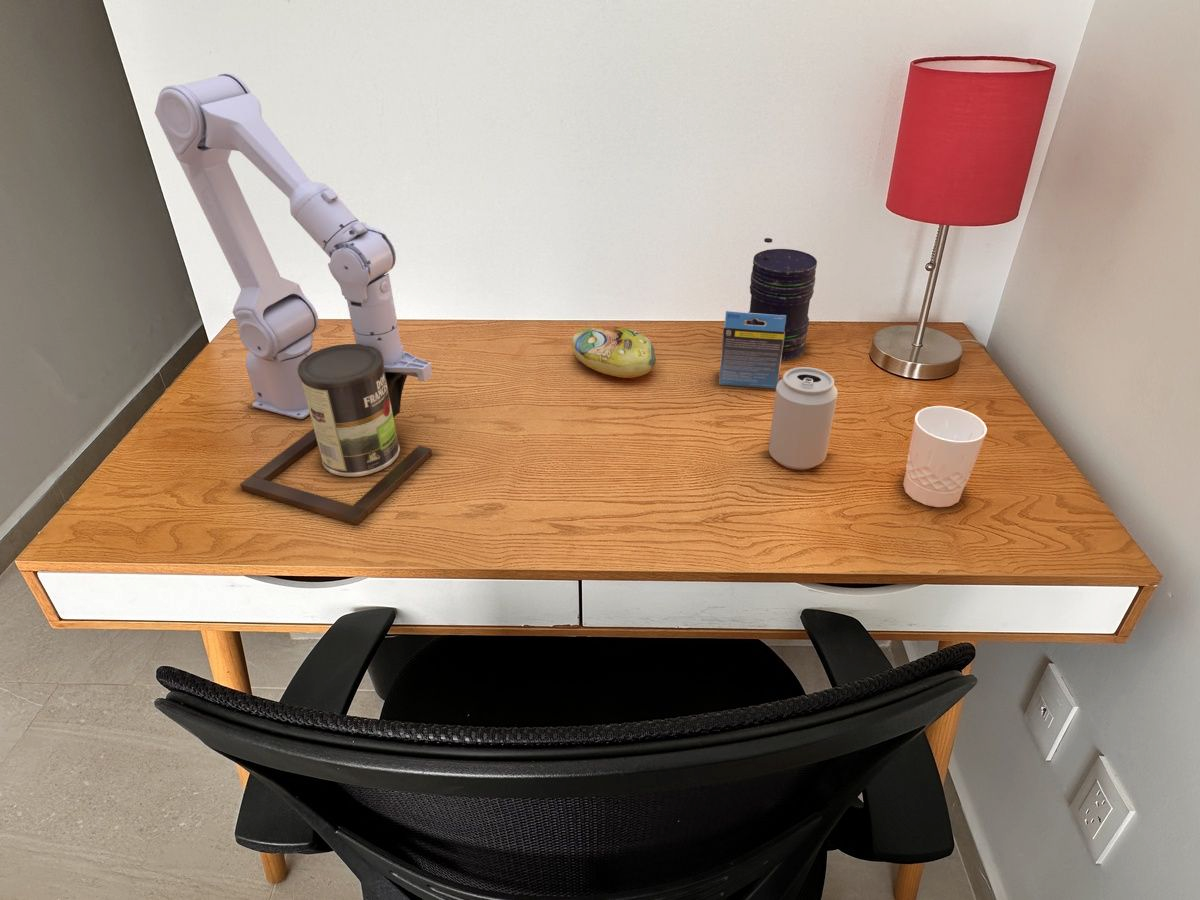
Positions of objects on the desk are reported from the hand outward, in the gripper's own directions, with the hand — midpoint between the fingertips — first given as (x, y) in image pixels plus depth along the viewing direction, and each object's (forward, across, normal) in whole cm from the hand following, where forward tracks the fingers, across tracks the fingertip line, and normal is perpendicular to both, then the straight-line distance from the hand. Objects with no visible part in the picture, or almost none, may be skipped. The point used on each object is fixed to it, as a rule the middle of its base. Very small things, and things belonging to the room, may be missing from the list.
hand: (392, 414), depth 111 cm
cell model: (+2, -22, -28) cm, 36 cm away
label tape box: (+2, -43, -31) cm, 53 cm away
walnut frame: (+2, 0, +11) cm, 11 cm away
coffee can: (+2, 0, +8) cm, 8 cm away
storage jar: (+2, -44, -44) cm, 62 cm away
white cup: (+2, -71, -13) cm, 72 cm away
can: (+2, -54, -14) cm, 56 cm away
